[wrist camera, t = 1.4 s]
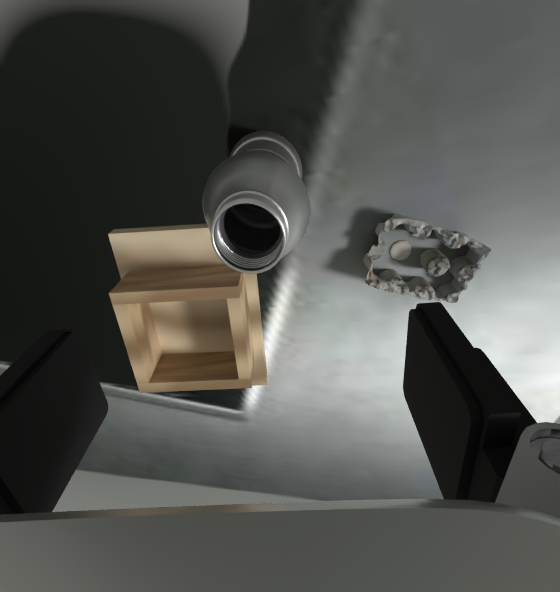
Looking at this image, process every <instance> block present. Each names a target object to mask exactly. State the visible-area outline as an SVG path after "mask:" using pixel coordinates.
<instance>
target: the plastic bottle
mask: <svg viewBox="0 0 560 592" xmlns="http://www.w3.org/2000/svg"><path fill="white" fill-rule="evenodd" d="M203 211H204V216H205V220H206V223H207V225H208V228H209V230H210V232H211V242H212V246H213V248H214V251H215V253H216V254H217V256H218V257H219V258H220V260H221V261H222V262H223V263H224V264H226V265H227V266H228V267H230V268H232V269H234V270H235V271H238V272H241V273H247V274H257V273H261V272H264V271H267V270H269V269H270V268H272V267H273V266H275V265H276V264H277V263H278V261H279V260H280V259H281V257H283V256H285V255H286V254H287V253H289V252H290V251H292V250H293V249H294V248H295V246H296V245H297V244H298V243H299V242H300V241H301V239H302V238H303V236H304V234H305V233H306V230H307V227H308V224H309V219H310V200H309V196H308V192H307V190H306V188H305V185H304V183H303V181H302V165H301V161H300V158H299V155H298V153H297V151H296V150H295V148H294V147H293V146H292V144H291V143H290V142H289V141H288V140H286V139H285V138H283V137H282V136H280V135H278V134H276V133H273V132H268V131H257V132H253V133H250V134H248V135H246V136H244V137H243V138H242V139H241V140H239V141H238V142H237V144H236V145H235V146H234V148H233V149H232V152H231V154H230V157H229V158H228V159H226V160H224V161H223V162H222V163H221V164H220V165H218V166H217V167H216V168H215V170H214V171H213V172H212V174H211V175H210V177H209V179H208V181H207V183H206V186H205V189H204V194H203Z"/></svg>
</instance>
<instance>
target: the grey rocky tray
mask: <svg viewBox="0 0 560 592" xmlns="http://www.w3.org/2000/svg"><path fill="white" fill-rule="evenodd" d="M399 224H403V226H404V227H405V228H406V230H407V231H408V232H409V233H410V234H411V235H412V236H414V237H418V238H421V239H422V240H423V239H425V238H426V237H428V236H430V234H431V231H432V230H434V234H435V236H436V237H437V238H438V239H439V240H440V241H442V242H443V244H445V245H446V246H447V247H448V248H452V249H454V248H459V247H460V246H461V245H465V244H466V245H467V246H468V247H469V250H468V252H467V253H466V255H464V256H460V257H457V258H455V259H453V260H452V261H451V263H450V264H449V260H448V259H447V257H446V256H444V255H443V254H442V253H441V252H440V251H439V250H438V249H435V248H430V249H428V250H426V251H424V252H423V253H422V254H421V256H420V260H419V261H420V264H421V265H422V267H423V268H424V269H425V271H426V272H427V274H428V275H429V276H435V277H438V276H440V275H442V274H444V273H445V272H446V271H447V270H448V269H449V271H450V273H451V274H452V275H453V276H454V279H453V280H452V282H451V284H444V285H441V286H440V287H438V288H437V289H436V290H434V289H433V288H432V286H431V285H430V284H429V283H428V281H427V280H426V279H425V278H423V277H414V278H412V279H411V280H410V281H409V282H405V281H403V280H402V278H401V277H400V276H399V274H398V273H397V272H396V271H395V270H393V269H387V270H384V271H382V272H381V273H380V274H379V275H374V274H373V272H372V269H373V265H372V261H371V260H375V259H379V258H380V257H381V256H382V255H383V254H384V253H385V251H386V244H385V242H384V241H383V239H382V238H381V237H380V235H381V233H382V232H383V231H385V232H386V231H392V230H394V228H395V227H397V226H398V225H399ZM375 233H376V234H377V236H378V237H379V238H378V242H379V244H378V245H373V246H372V247H371V249H370V251H369V253H366V254H365V257H364V259H363V262H364V264H365V266H366V267H367V269H368V270H369V272H368V274H367V278H366V281H365V283H366V284H367V283H368V285H369V286H373V287H375V288H377V289H382V290H384V291H388V292H393V291H394V292H397V293H400V294H403V295H409V296H412V297H416V298H419V299H423V300H438V301H440V300H446V301H447V302H450V303H454V302H457V301H458V296H459V294H460V293H461V291H463V290H466V289H467V285H468V283H469V281H470V280H471V279H472V278H473V277H474V275H475V273H476V272H477V271H478V270H479V269H480V265H481V262H482V260H484V259H485V258H486V257H487V255H488V254H489V252H490V251H491V249H490V248H488V247H487V246H485V245H483V244H482V243H480V242H478V241H476V240H473V239H471V238H469V237H468V236H467V235H466V234H464V233H461V232H456V233H453V232H451V231H449V230H446V229H443V228H440V227H437V226H434V225H432V224H429V223H427V222H423V221H418V220H413V219H405V218H404V217H403V216H400V215H396V214H394V215H393V216H392V218H391V219H388V220H387V221H386V222H382V223H379V224H378V225H377V227H376V229H375ZM411 251H412V247H411V245H410V244H409V243H408V242H407V241H404V240H401V241H397V242H395V243H394V244H393V245H392V246H391V248H390V256H391V257H392V258H393V259H395V260H398V261H401V260H404V259H406V258H408V257H409V256H410V254H411Z"/></svg>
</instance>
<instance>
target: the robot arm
mask: <svg viewBox="0 0 560 592" xmlns="http://www.w3.org/2000/svg"><path fill="white" fill-rule="evenodd" d="M403 390H404V396H405V399H406V402H407V404H408V407H409V410H410V412H411V415H412V417H413V420H414V422H415V425H416V428H417V430H418V433H419V435H420V438H421V441H422V443H423V446H424V448H425V451H426V454H427V456H428V459H429V461H430V464H431V467H432V469H433V472H434V474H435V477H436V480H437V482H438V485H439V487H440V490H441V493H442V495H443V498H444V499H397V500H347V501H318V502H289V503H261V504H234V505H208V506H185V507H184V506H183V507H159V508H137V509H135V508H134V509H112V510H111V509H110V510H89V511H67V512H52V511H53V509H54V507H55V506H56V504H57V502H58V500H59V498H60V497H61V495H62V493H63V491H64V490H65V488H66V486H67V484H68V482H69V481H70V479H71V477H72V475H73V474H74V472H75V470H76V468H77V466H78V465H79V463H80V461H81V459H82V458H83V456H84V454H85V452H86V450H87V449H88V447H89V445H90V443H91V442H92V440H93V438H94V436H95V434H96V433H97V431H98V429H99V427H100V425H101V424H102V422H103V420H104V418H105V417H106V414H107V411H108V403H107V400H106V397H105V395H104V393H103V390H102V388H101V385H100V383H99V381H98V378H97V376H96V373H95V371H94V369H93V366H92V364H91V361H90V359H89V356H88V354H87V352H86V349H85V347H84V344H83V342H82V340H81V337H80V336H79V334H77V333H74V331H73V330H72V329H69V328H66V329H52V330H47V331H46V332H44V333H43V334H42V335H41V336H40V337H39V338H38V339H37V340H36V341H35V342H34V343H33V344H32V345H31V346H30V347H29V348H28V349H27V350H26V351H25V352H24V353H23V354H22V355H21V356H20V357H19V358H18V359H17V360H16V361H15V362H14V363H13V364H12V365H11V366H10V367H9V368H8V369H7V370H6V371H5V372H4V373H3V374H2V375H1V376H0V592H560V424H557V423H548V422H544V423H537V422H536V421H535V420H534V418H533V417H532V416H531V414H530V413H529V412H528V410H527V409H526V408H525V406H524V405H523V404H522V402H521V401H520V400H519V398H518V397H517V396H516V394H515V393H514V392H513V390H512V389H511V388H510V386H509V385H508V384H507V382H506V381H505V380H504V378H503V377H502V376H501V375H500V373H499V372H498V371H497V369H496V368H495V367H494V365H493V364H492V363H491V361H490V360H489V359H488V357H487V356H486V355H485V353H484V352H483V351H482V350H481V349H479V348H474V347H473V346H472V345H471V343H470V342H469V341H468V339H467V338H466V337H465V335H464V334H463V332H462V331H461V330H460V328H459V327H458V326H457V324H456V323H455V321H454V320H453V319H452V317H451V316H450V315H449V313H448V312H447V310H446V309H445V308H444V306H443V305H442V304H441V303H440V302H434V303H420V304H417V306H416V309H411V310H410V312H409V320H408V332H407V344H406V357H405V369H404V381H403Z"/></svg>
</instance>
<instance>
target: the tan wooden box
mask: <svg viewBox="0 0 560 592" xmlns="http://www.w3.org/2000/svg"><path fill="white" fill-rule="evenodd" d="M108 236H109V239H110V243H111V246H112V249H113V252H114V256H115V259H116V263H117V267H118V270H119V273H120V277H121V280H120V282H119V283H118V284H117V285H116V286H115V287H114V288H113V289H112V290H111V292H110V293H109V295H110V299H111V302H112V305H113V308H114V311H115V314H116V318H117V321H118V324H119V327H120V330H121V333H122V336H123V340H124V343H125V346H126V349H127V353H128V356H129V359H130V362H131V365H132V368H133V372H134V375H135V378H136V381H137V384H138V387H139V391H140V393H142V392H165V391H188V390H211V389H234V388H252V385H267V369H266V360H265V350H264V341H263V331H262V322H261V312H260V303H259V293H258V284H257V274H247V273H241V272H238V271H235V270H234V269H232V268H230V267H228V266H227V265H226V264H224V263H223V262H222V261H221V260H220V258H219V257H218V256H217V254H216V253H215V251H214V248H213V246H212V242H211V232H210V230H209V228H208V225H207V224H192V225H176V226H160V227H143V228H129V229H127V228H126V229H114V230H113V231H111V232H110V233H109V234H108Z"/></svg>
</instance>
